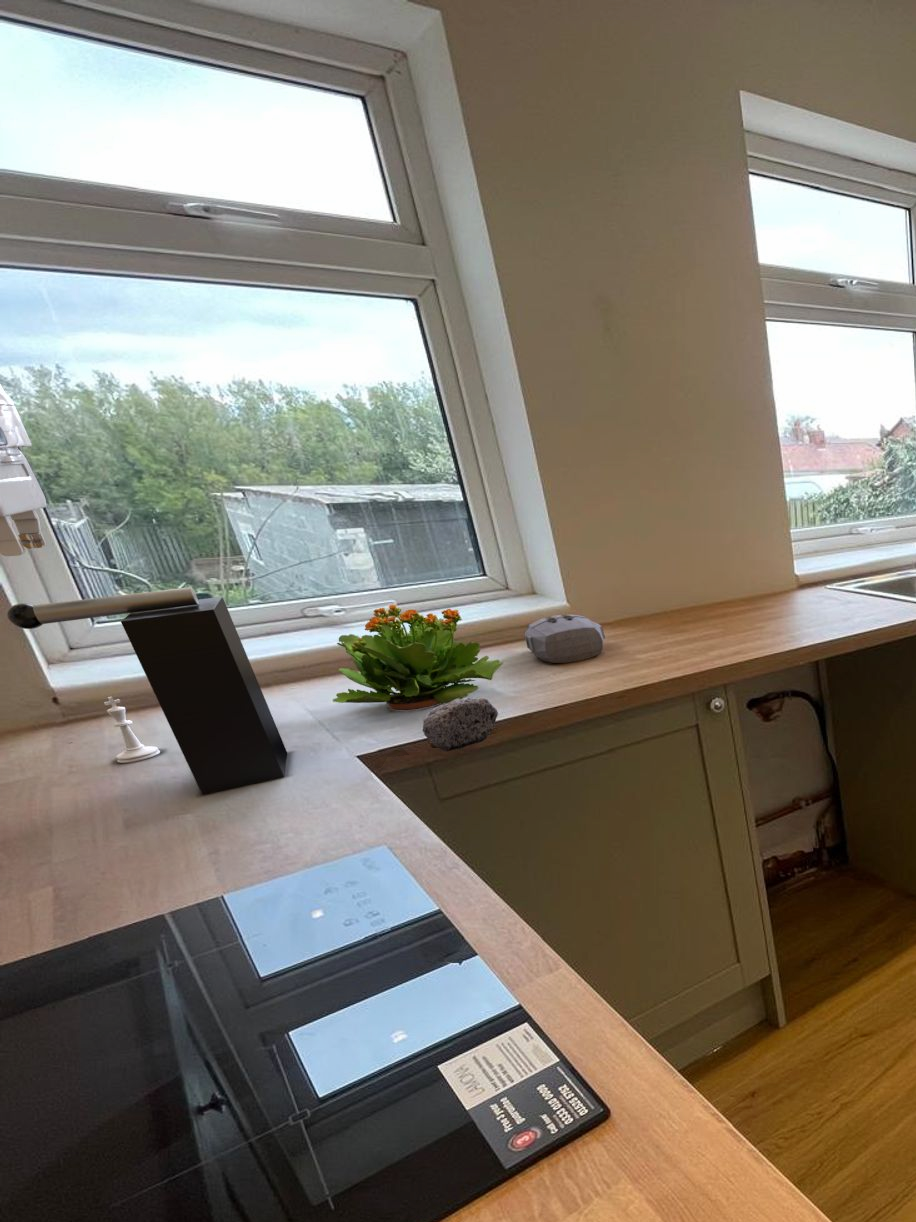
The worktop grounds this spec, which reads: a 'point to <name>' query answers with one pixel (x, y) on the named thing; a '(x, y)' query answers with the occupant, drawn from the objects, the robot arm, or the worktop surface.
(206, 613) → the black box
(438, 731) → the pumice stone
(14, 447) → the robot arm
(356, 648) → the potted flower
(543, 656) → the soft grey pack
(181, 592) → the matchstick with dark head
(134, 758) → the chess piece
